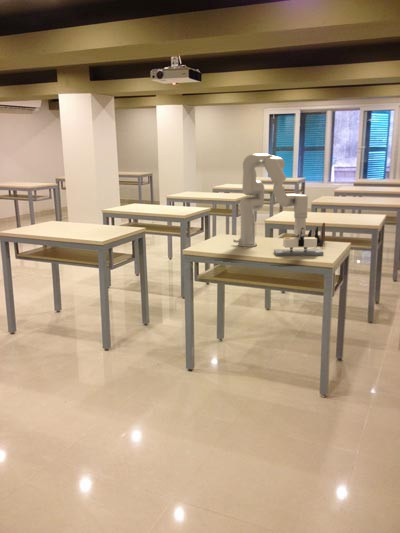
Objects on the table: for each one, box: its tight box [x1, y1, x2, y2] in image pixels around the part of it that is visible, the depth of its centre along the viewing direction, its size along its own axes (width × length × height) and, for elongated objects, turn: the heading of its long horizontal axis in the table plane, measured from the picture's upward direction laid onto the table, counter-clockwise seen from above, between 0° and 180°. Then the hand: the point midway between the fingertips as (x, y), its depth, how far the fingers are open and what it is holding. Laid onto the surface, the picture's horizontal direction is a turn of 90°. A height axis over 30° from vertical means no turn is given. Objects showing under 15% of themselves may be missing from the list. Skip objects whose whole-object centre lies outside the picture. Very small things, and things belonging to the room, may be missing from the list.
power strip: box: [282, 236, 318, 249], centre depth 294 cm, size 19×6×6 cm, turn 92°
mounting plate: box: [273, 247, 325, 257], centre depth 296 cm, size 28×10×4 cm, turn 92°
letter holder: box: [307, 222, 326, 247], centre depth 328 cm, size 10×20×14 cm, turn 162°
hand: (299, 245), depth 295 cm, fingers closed on power strip, 6 cm apart
